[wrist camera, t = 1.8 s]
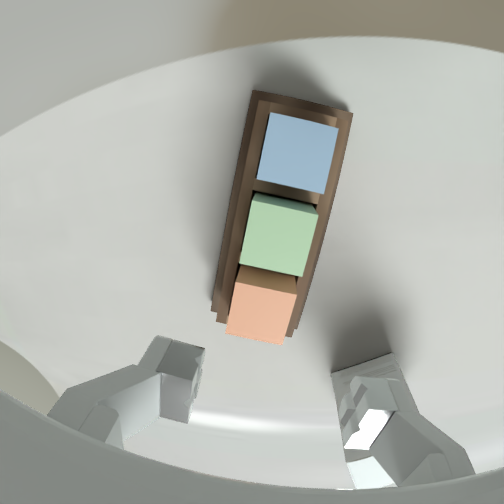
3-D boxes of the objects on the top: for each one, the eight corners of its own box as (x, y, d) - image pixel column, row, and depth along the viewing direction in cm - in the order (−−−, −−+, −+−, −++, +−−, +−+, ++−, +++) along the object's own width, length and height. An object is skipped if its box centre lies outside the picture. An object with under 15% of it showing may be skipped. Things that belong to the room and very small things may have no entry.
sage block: (311, 204, 28) (318, 215, 23) (298, 256, 29) (302, 276, 25) (256, 191, 28) (252, 200, 23) (245, 244, 29) (239, 263, 25)
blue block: (327, 132, 26) (338, 128, 21) (315, 186, 27) (323, 194, 22) (271, 119, 26) (270, 112, 21) (260, 174, 27) (256, 179, 23)
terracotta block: (294, 271, 30) (297, 294, 25) (281, 316, 31) (282, 345, 27) (242, 260, 30) (235, 281, 25) (233, 306, 31) (225, 333, 27)
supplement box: (328, 372, 39) (344, 462, 25) (392, 350, 37) (430, 433, 23) (342, 413, 41) (356, 495, 27) (399, 394, 40) (428, 472, 25)
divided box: (349, 114, 29) (365, 107, 23) (296, 322, 37) (298, 352, 31) (253, 92, 29) (248, 80, 23) (213, 304, 37) (202, 331, 31)
